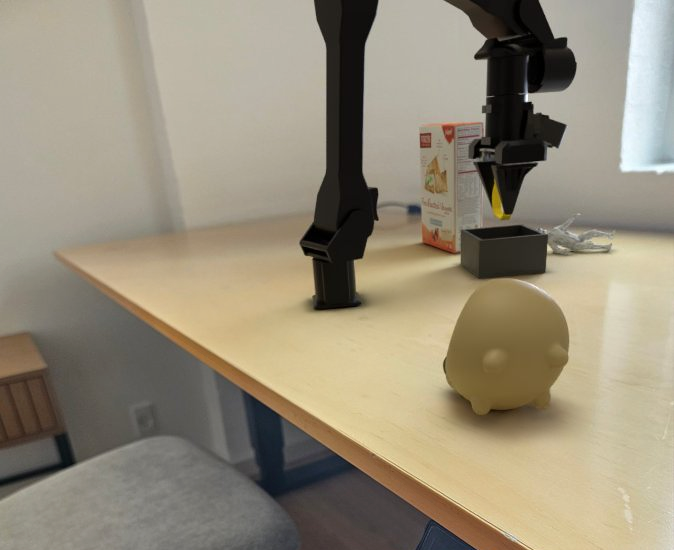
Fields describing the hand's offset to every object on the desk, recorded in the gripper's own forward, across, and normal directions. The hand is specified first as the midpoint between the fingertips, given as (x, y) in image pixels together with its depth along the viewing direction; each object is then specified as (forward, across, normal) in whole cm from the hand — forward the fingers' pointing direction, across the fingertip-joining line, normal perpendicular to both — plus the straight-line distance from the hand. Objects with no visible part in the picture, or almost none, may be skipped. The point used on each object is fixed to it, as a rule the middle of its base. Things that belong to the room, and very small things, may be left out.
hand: (502, 212), depth 99 cm
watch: (+1, 0, 0) cm, 1 cm away
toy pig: (+9, -52, +16) cm, 55 cm away
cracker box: (+9, +22, +3) cm, 24 cm away
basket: (+8, 0, 0) cm, 8 cm away
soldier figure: (+8, +8, -15) cm, 19 cm away
